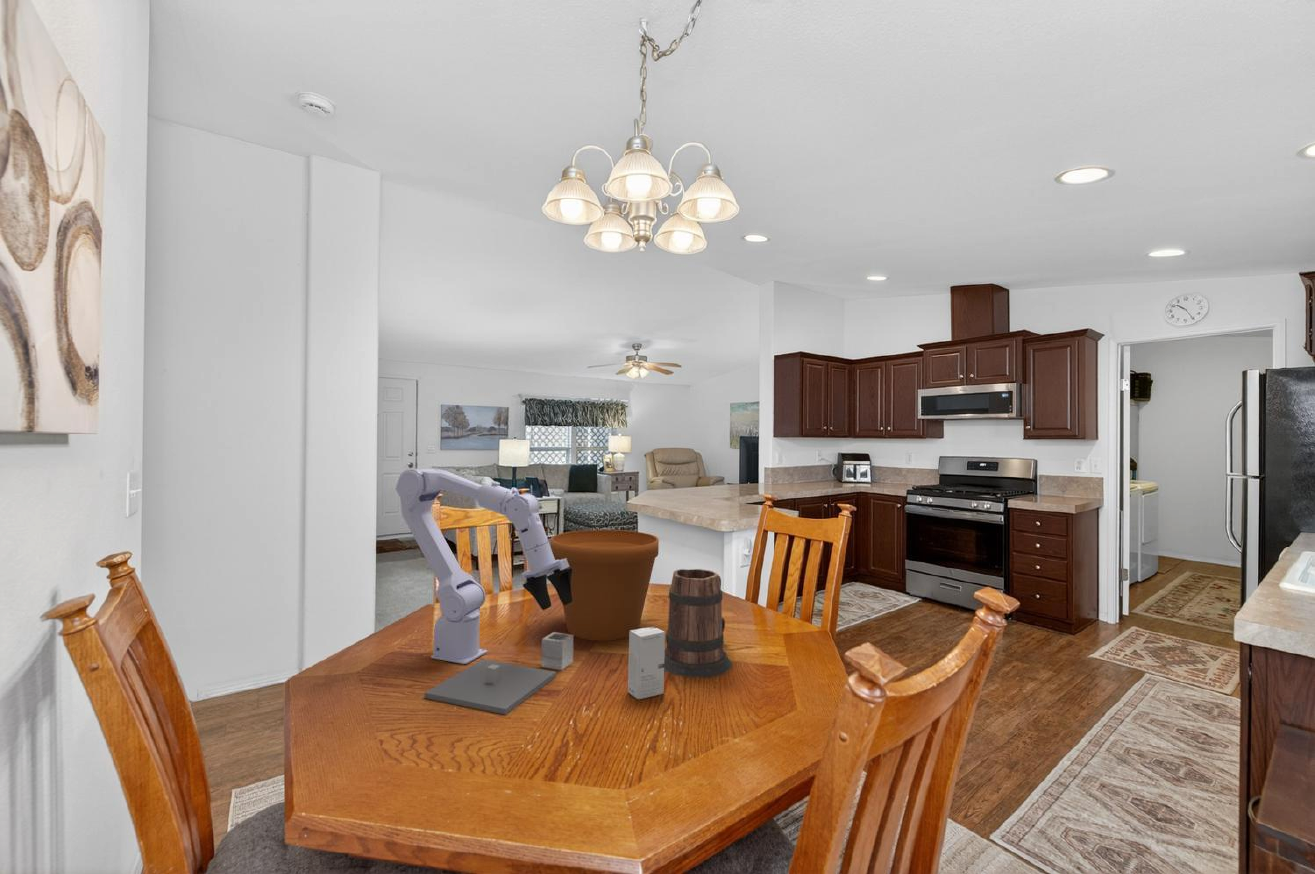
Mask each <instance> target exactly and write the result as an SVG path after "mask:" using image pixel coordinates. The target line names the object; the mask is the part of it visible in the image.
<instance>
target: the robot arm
mask: <svg viewBox="0 0 1315 874" xmlns="http://www.w3.org/2000/svg"><path fill="white" fill-rule="evenodd" d="M500 485H501V483H500V482H498V481H492V482H487V483H484V484H483V485H482V484H479V483H477V482H474V481H472V480H470V479H468V478H465V477H463V476H459V475H458V474H455V473H454V472H453V473H452V472H450V471H448V470H445V469H439V468H438V467H429V468H419V469H416V468H415V469H413V468H410V469H406V470H404V471H403V472H402V473H401V474H400V475H399V477H398V480H397V483H396V486H395V490H396V493H397V495H398V496H399V497H400V506H401V515H402V517H403V519H404V522H405V523H406V525H407V527H408V528H409V530H410V532H411V535H412V536H413V538H414V539H415V542H416V543H417V545H418V547H419V548H420V551H421V553H422V554H423V556H424V558H425V560H426V561H427V563H428V565H429V567H430V569H431V570H432V572H433V574H434V577H435V578H436V579H437V581H438V587H437V590H436V593H435V594H436V596H437V597H436V598H438V601H439V609H440V612H441V614H442V615H440V616H439V617H438V618H437V620H436V621H435V624H434V628H433V654H431V656H430V659H432V660H433V659H434V660H441V661H446V662H451V663H456V664H462V665H466V664H469V663H470V662H472V661H474V660H475V659H478V658H479V657H481V656H483V655H485V654H486V653H488V650H487V649H483V648H480V613H481V607H482V606H483V605H484V604H485V601H486V591H485V589H484V587H483V586H482V584H479V583H478V582H477V581H476V580H475V579H474V576H472V575H471V574H469V573H468V572H465V571H464V570H463V569H462V568H461V566H460V564H459V562H458V560H457V558H456V557H455V555H454V553H453V552H452V550H451V548H450V546H449V544H448V543H447V540H446V539H445V537H444V535H443V533H442V531H441V529H440V528H439V526H438V524H437V523H436V520H435V519H434V517H433V515H432V513H431V510H432V509H431V508H432V506H433V504H434V503H435V501H436V500H437V498H438V497H439V495H440V494H441V492H442V491H444V490H445V491H448V492H452V493H454V494H458V495H461V496H465V497H468V498H471V499H474V500H476V502H477V504H478V506H479V507H480V508H483V509H485V510H488V511H491V512H495V513H497V514H500V515H503V516H505V518H506V519H507V520H508V521H509V522H510V523H512V524H513V526H514V529H515V531H516V534H517V536H518V539H519V543H520V546H521V548H522V551H523V555H524V557H525V559H526V562H527V565H528V568H529V569H528V570H524V572H521V573H520V574H521V577H522V581H523V582H525V583H522V587H523V588H524V589H525V590H526V591H527V592H529V594H530V595H531V596H532V597H533V598H534V600H536V602H537V604H538V606H539V607H540V608H541V610H542V611H545V610H547V609H550V608H551V607H552V602H551V598H550V595H549V590H548V584H547V582H548V581H549V582H550V584H551V585H552V587H553V588H554V589H555V591H556V593H557V596H558V598H559V600H560V602H561V604H562V606H563V605H567V604H569V603H571V602H572V594H571V575H572V567H570V568H568V567H569V564H568V561H567V558H565V559H562V560H559V559H558V560H555V558H554V555H553V553H552V550H551V543H550V541H549V538H548V536H547V533H546V530H545V528H544V525H543V522H542V520H541V518H540V517H541V516H540V515H539V514H540V513H539V512H540V502H539V499H538V498H537V497H536V496H535V495H534V494H531V493H530V492H524V493H522V494H520V493H519V492H520V490H518V489H515V488H514V489H510V488H506V487H504V486H500ZM551 573H552V574H551ZM548 574H549V575H548Z"/></svg>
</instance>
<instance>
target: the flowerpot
mask: <svg viewBox="0 0 1315 874" xmlns="http://www.w3.org/2000/svg"><path fill="white" fill-rule="evenodd" d="M659 542H660V541H659V537H658V536H656V535H653V534H650V533H646V532H640V531H633V530H621V529H587V530H586V529H584V530H577V531H566V532H562V533H558V534H555V535H552V536H551V537H550V547H551V550H552V553H553V555H554V558H555V560H558V559H559V560H562V559H565V558H567V561H568V564H569V567H568V568H570V567H572V575H571V594H572V602H571V603H569V604H567V605H563V604H562V607H563V612H564V619H565V624H566V627H567V632H568V634H571V635H574V636H573V637H575V638H579V639H582V640H583V639H584V640H588V641H615V640H622V639H625V638H628V637H629V631H630V630H637V629H640V625H641V620H642V616H643V611H644V607H645V603H646V600H647V595H648V590H649V587H650V581H651V578H652V572H653V569H654V565H655V560H656V558H657V557H658V555H659V547H660V545H659Z"/></svg>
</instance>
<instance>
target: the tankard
mask: <svg viewBox="0 0 1315 874" xmlns="http://www.w3.org/2000/svg"><path fill="white" fill-rule="evenodd" d="M671 579H672V580H671V584H670V588H669V590H668V599H669V603H668V605H669V607H668V618H667V619H668V622H667V630H666V631H665V643H666V647H665V653H664V672H667V673H668V674H671V675H674V676H679V677H685V678H693V679H694V678H695V679H696V678H699V679H703V678H712V677H717V676H720V675H724V674H726V673H727V672H730V670H731V669H732V668H733V663H732V660H731V659H729V657H728V655H727V653H726V652H725V651H724V647H723V646H724V642H725V641H724V640H725V639H724V637H725V636H724V631H725V627H726V621H725V618H724V617H723V616H722V614H723V613H722V612H723V609H722V607H723V606H722V605H723V604H722V603H723V602H722V601H723V590H722V588H721V587H722V579H721V576H720V575H719V574H718V573H717V572H715V571H713V570H709V569H702V568H700V569H699V568H694V569H683V568H682V569H681V568H680V569H676V570H674V571H673V574H672V578H671Z"/></svg>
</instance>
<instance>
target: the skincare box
mask: <svg viewBox="0 0 1315 874" xmlns="http://www.w3.org/2000/svg"><path fill="white" fill-rule="evenodd" d="M628 639H629V640H628V667H627V668H628V671H627V672H628V673H627V674H628V675H627V676H628V677H627V678H628V679H627V693H629V694H630V695H631V696H632V697H634V698H635V699H636V700H642V699H647V698H650V697H655V696H660V695H662V694H664V693H665V692H664V691H665V690H664V689H665V688H664V687H665V671H664V653H665V649H666V647H665V646H666V645H665V644H666V631H664V630H662V629H661V628H658V627H656V626H651V627H642V628H639V629H637V630H630V631H629V638H628Z"/></svg>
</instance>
